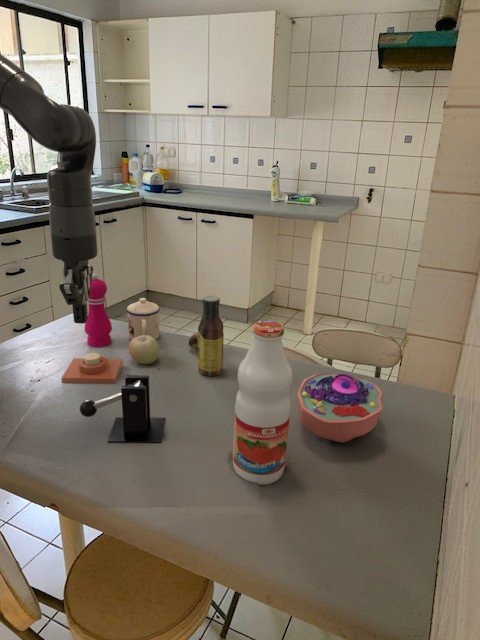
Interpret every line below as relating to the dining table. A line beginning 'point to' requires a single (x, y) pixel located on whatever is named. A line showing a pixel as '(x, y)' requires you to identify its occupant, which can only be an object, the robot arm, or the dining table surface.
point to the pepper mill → (97, 315)
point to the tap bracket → (136, 415)
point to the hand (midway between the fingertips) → (81, 321)
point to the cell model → (339, 405)
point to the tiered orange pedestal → (93, 371)
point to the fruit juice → (263, 407)
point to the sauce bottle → (210, 338)
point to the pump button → (92, 359)
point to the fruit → (144, 349)
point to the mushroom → (194, 341)
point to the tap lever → (102, 402)
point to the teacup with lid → (143, 319)
